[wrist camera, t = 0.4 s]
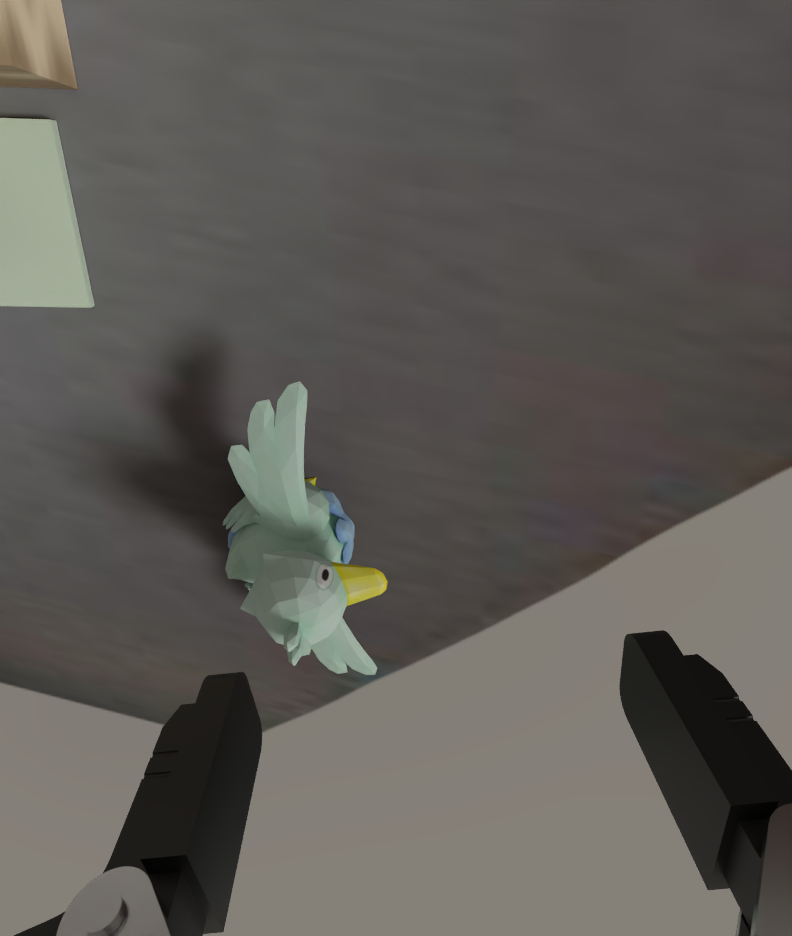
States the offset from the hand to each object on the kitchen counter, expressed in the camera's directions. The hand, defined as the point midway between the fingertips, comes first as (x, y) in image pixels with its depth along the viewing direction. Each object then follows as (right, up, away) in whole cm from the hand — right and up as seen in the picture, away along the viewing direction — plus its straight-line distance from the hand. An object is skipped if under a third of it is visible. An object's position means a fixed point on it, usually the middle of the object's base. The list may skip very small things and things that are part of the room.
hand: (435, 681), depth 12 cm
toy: (-7, +1, +31) cm, 31 cm away
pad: (-25, +19, +21) cm, 38 cm away
